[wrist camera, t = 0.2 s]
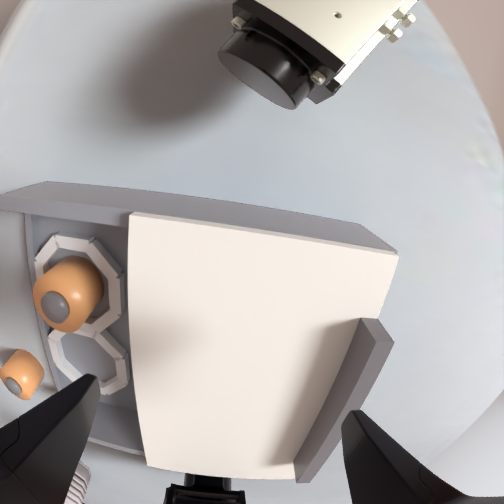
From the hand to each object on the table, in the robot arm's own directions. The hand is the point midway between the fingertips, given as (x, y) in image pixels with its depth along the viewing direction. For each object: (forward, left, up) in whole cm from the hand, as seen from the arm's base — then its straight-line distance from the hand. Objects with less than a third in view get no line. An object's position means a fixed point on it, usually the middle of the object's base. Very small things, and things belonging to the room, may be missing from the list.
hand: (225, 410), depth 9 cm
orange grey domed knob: (-4, +13, -14) cm, 19 cm away
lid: (-8, -2, -8) cm, 11 cm away
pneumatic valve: (+16, -2, -15) cm, 22 cm away
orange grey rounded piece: (-18, +23, -15) cm, 32 cm away
